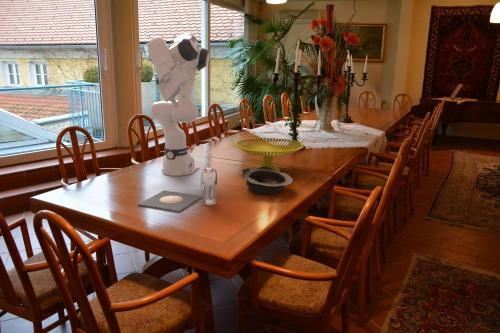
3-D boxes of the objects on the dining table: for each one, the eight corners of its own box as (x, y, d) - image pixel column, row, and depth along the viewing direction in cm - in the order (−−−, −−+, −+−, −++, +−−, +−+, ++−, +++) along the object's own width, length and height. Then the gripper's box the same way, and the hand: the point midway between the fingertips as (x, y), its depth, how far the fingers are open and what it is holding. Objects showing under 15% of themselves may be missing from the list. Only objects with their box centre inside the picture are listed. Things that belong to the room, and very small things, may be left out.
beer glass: (219, 201, 175) (219, 168, 171) (213, 206, 169) (213, 172, 165) (204, 199, 177) (204, 167, 173) (198, 204, 170) (198, 171, 166)
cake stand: (222, 175, 215) (222, 148, 211) (245, 158, 252) (245, 135, 248) (295, 183, 203) (297, 154, 199) (308, 164, 241) (309, 140, 237)
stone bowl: (238, 181, 203) (240, 164, 201) (286, 185, 205) (288, 168, 203) (241, 197, 179) (242, 177, 177) (295, 200, 181) (297, 181, 179)
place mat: (164, 191, 186) (164, 189, 186) (202, 197, 179) (202, 195, 179) (138, 205, 168) (138, 203, 168) (179, 212, 161) (179, 210, 161)
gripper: (184, 59, 163) (197, 89, 162) (166, 82, 179) (178, 110, 178) (170, 61, 159) (184, 91, 158) (154, 85, 175) (166, 113, 174)
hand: (181, 101), depth 168 cm, fingers open, 8 cm apart
